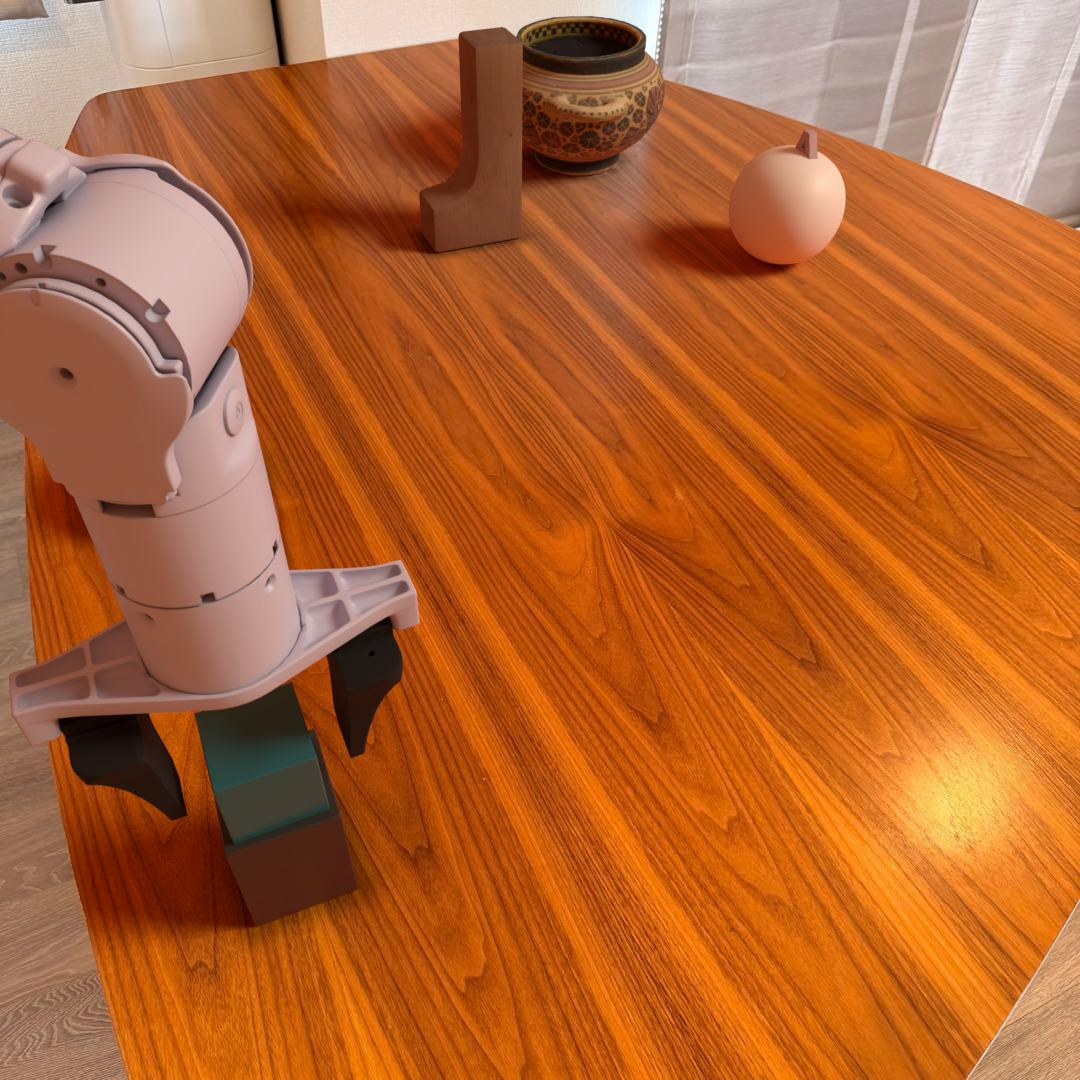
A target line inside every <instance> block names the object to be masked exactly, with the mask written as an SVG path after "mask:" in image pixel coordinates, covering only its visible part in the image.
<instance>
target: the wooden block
mask: <svg viewBox="0 0 1080 1080" xmlns="http://www.w3.org/2000/svg"><path fill="white" fill-rule="evenodd" d="M516 36H517V35H515V34H514V33H512V32H511V31H510V30H509V29H507V28H506V27H504V26H498V27H491V28H482V29H480V28H479V29H473V30H464V31H460V32H459V33H458V62H459V63H458V64H459V90H460V93H459V94H460V119H461V152H460V155H459V160H458V165H457V166H456V167H455V169H454V170H453V171H452V173H451V174H450V175H449V176H448V178H447V179H446V180H445V181H443V182H441V183H437V184H434V185H431V186H429V187H426V188H423V189H421V190H420V191H419V192H418V198H419V199H418V200H419V212H420V213H419V214H420V228H421V229H420V230H421V233H422V235H423V236H424V238H425V239H426V240H427V242H428V244H429V245H430V246H431V248H432V249H433V251H434V252H435V253H444V252H448V251H449V252H450V251H455V250H460V249H465V248H470V247H476V246H482V245H487V244H493V243H497V242H504V241H509V240H515V239H519V238H521V237H522V221H523V220H522V217H523V216H522V213H523V212H522V209H523V207H522V205H523V198H522V197H523V142H522V84H523V44H522V41H520V40H519V39H518V38H517V37H516Z"/></svg>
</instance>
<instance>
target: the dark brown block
mask: <svg viewBox="0 0 1080 1080" xmlns="http://www.w3.org/2000/svg"><path fill="white" fill-rule="evenodd" d="M308 732H309V735H310V738H311V741H312V744H313V747H314V750H315V753H316V756H317V760H318V764H319V768H320V772H321V775H322V779H323V783H324V787H325V791H326V795H327V799H328V803H329V807H330V810H328V811H325V812H323V813H320V814H317V815H315V816H312V817H309V818H306V819H304V820H301V821H298V822H295V823H293V824H290V825H287V826H284V827H282V828H279V829H276V830H273V831H271V832H268V833H265V834H263V835H260V836H257V837H254V838H252V839H249V840H246V841H243V842H241V843H238V844H234V843H233V841H232V839H231V836H230V834H229V831H228V829H227V826H226V824H225V822H224V819H223V817H222V814H221V812H220V809H219V807H218V804H217V802H216V800H215V797H214V795H213V794H212V795H213V800H214V805H215V806H214V807H215V811H216V816H217V822H218V825H219V831H220V837H221V841H222V846H223V851H224V855H225V858H226V861H227V862H228V865H229V867H230V870H231V872H232V874H233V877H234V879H235V882H236V884H237V886H238V888H239V890H240V894H241V895H242V898H243V900H244V902H245V905H246V907H247V909H248V912H249V914H250V917H251V919H252V921H253V924H254V925H255V927H259V926H262V925H265V924H267V923H270V922H273V921H276V920H278V919H281V918H284V917H287V916H289V915H291V914H295V913H297V912H300V911H303V910H305V909H309V908H311V907H313V906H316V905H319V904H322V903H325V902H328V901H330V900H332V899H335V898H338V897H342V896H344V895H346V894H350V893H352V892H355V891H357V890H359V883H358V881H357V876H356V872H355V867H354V863H353V859H352V855H351V851H350V847H349V843H348V839H347V834H346V831H345V827H344V826H345V825H344V822H343V817H342V814H341V810H340V807H339V804H338V800H337V797H336V794H335V790H334V787H333V783H332V780H331V777H330V773H329V771H328V767H327V763H326V760H325V755H324V753H323V750H322V746H321V742H320V739H319V736H318V732H317V729H316V728H314V727H313V728H310V729H308Z"/></svg>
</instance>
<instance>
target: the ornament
mask: <svg viewBox="0 0 1080 1080" xmlns="http://www.w3.org/2000/svg"><path fill="white" fill-rule="evenodd" d="M846 194H847V193H846V187H845V183H844V179H843V177H842V174H841V172H840V170H839V169H838V167H837V166H836V164H835V163H834V162H833V161H831V159H829V157H827V156H826V155H824V154H823V153H822V152H820V151H818V131H816V130H815V129H812V128H810V129H804V130H803V131H802V133H801V135H800V138H799V139H798V141H797V142H796V145H795V144H788V145H779V146H775V147H771V148H769V149H766V150H764V151H762V152H760V153H759V154H757V155H756V156H754V157H753V158H752V159H750V161H748V163H747V164H745V166H744V167H743V169H742V170H741V171H740V173H739V174H738V176H737V178H736V179H735V182H734V184H733V186H732V189H731V191H730V196H729V201H728V220H729V225H730V229H731V231H732V234H733V236H734V238H735V239H736V241H737V243H738V244H739V245H740V246H741V248H742V249H743V250H744V251H745V252H747V253H748V254H749V255H751V256H752V257H753V258H755V259H757V260H760V261H762V262H765V263H768V264H773V265H794V264H798V263H801V262H804V261H807V260H809V259H811V258H813V257H815V256H816V255H818V254H819V253H820V252H822V251H823V250H824V249H825V248H826V247H827V246H828V245H829V244H830V242H831V241H832V240H833V238H834V237H835V235H836V234H837V232H838V230H839V228H840V226H841V223H842V221H843V217H844V214H845V209H846V201H847V199H846V196H847V195H846Z"/></svg>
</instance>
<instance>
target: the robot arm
mask: <svg viewBox="0 0 1080 1080" xmlns="http://www.w3.org/2000/svg"><path fill="white" fill-rule="evenodd" d="M253 286H254V268H253V262H252V258H251V254H250V251H249V247H248V245H247V243H246V239H245V238H244V236H243V234H242V231H240V229H239V227H238V226H237V224H236V223H235V221H234V219H233V218H232V217H231V216H230V215H229V213H228V212H227V210H225V208H224V207H223V206H222V205H221V204H220V203H219V202H218V201H217V200H216V199H215V198H214V197H212V196H211V194H209V193H208V192H207V191H205V190H204V189H203V188H201V187H200V186H199V185H197V184H196V183H194V181H191V180H190V179H188V178H187V177H185V176H184V175H183V174H182V173H180V172H179V170H178V169H176V168H175V167H174V166H173V165H172V164H170V163H169V162H167V161H165V160H163V159H159V158H156V157H153V156H149V155H143V154H137V153H136V154H135V153H123V152H122V153H109V154H103V155H99V156H92V157H91V156H84V155H80V154H77V153H75V152H72V151H71V150H69V149H68V148H65V147H64V146H61V145H60V146H58V147H57V148H56V149H53V148H52V147H50V146H48V145H46V144H44V143H42V142H41V141H38V140H36V139H30V140H26V139H24V138H23V137H21V136H19V135H18V134H15V133H13V132H11V131H9V130H8V129H6V128H4V127H2V126H0V419H2V421H4V422H5V423H6V424H8V425H9V426H11V427H12V428H13V429H15V430H16V431H17V432H19V433H20V434H21V435H22V436H24V437H25V438H26V439H27V440H28V441H30V443H31V444H32V445H33V446H34V447H35V448H36V450H37V451H38V452H39V454H40V455H41V457H42V460H43V461H44V463H45V464H44V465H45V466H46V468H47V471H48V472H49V475H50V478H51V479H52V482H53V483H57V484H61V485H63V486H64V488H65V490H66V492H67V493H68V494H69V495H70V496H71V497H73V498H74V501H75V504H76V506H77V508H78V511H79V513H80V516H81V517H82V520H83V522H84V525H85V527H86V529H87V531H88V535H89V536H90V539H91V541H92V543H93V546H94V548H95V550H96V554H97V556H98V559H99V560H100V561H101V565H102V567H103V570H104V572H105V574H106V577H107V580H108V582H109V584H110V587H111V589H112V591H113V593H114V597H115V599H116V600H117V603H118V606H119V608H120V609H121V613H122V614H123V617H124V618H122V619H120V620H119V621H117V622H115V623H114V624H111V625H109V626H108V627H106V628H104V629H102V630H101V631H98V632H97V633H95V634H93V635H91V636H90V637H88V638H86V639H84V640H82V641H81V642H79V643H77V644H75V645H74V646H72V647H70V648H68V649H66V650H65V651H62V652H60V653H58V654H57V655H55V656H52V657H51V658H48V659H46V660H44V661H42V662H39V663H36V664H34V665H32V666H28V667H26V668H23V669H20V670H16V671H14V672H10V673H9V674H8V686H9V697H10V698H9V699H10V713H11V717H12V718H13V720H14V722H15V723H16V725H17V726H18V728H19V730H20V731H21V733H22V735H23V736H24V739H26V741H27V743H28V744H29V746H30V747H34V746H37V745H41V744H44V743H47V742H51V741H53V740H56V739H57V738H59V737H60V736H61V735H63V736H64V741H65V743H66V745H67V748H68V756H69V757H68V758H69V763H70V764H69V765H70V767H71V769H72V771H73V772H74V774H75V775H76V776H77V778H78V779H80V780H81V782H83V784H85V785H86V786H103V787H109V788H113V789H118V790H121V791H125V792H127V793H130V794H132V795H134V796H136V797H138V798H140V799H142V800H144V801H145V802H147V803H148V804H150V805H151V806H152V807H154V808H156V809H157V810H158V811H160V812H161V814H163V815H165V817H167V819H168V820H170V821H172V822H174V821H177V820H180V819H183V818H185V817H188V812H187V807H186V801H185V797H184V793H183V788H182V782H181V778H180V775H179V772H178V770H177V767H176V764H175V762H174V759H173V757H172V756H171V754H170V751H169V749H168V748H167V747H166V746H167V745H166V744H165V743H164V741H163V739H162V737H161V736H160V734H159V732H158V730H157V728H156V726H155V725H154V723H153V720H152V718H151V716H150V714H161V713H165V714H166V713H183V712H184V713H185V712H200V711H209V710H220V709H227V708H232V707H237V706H240V705H243V704H246V703H249V702H251V701H253V700H256V699H258V698H260V697H262V696H264V695H265V694H267V693H269V692H271V691H272V690H274V689H275V688H277V687H278V686H281V685H284V684H285V683H286V682H287V681H289V680H290V679H293V678H294V677H295V676H297V675H298V674H300V673H301V672H303V671H305V670H306V669H308V668H309V667H311V666H312V665H314V664H315V663H317V662H318V661H320V660H322V659H323V658H325V657H326V660H327V664H328V669H329V678H330V688H331V694H332V695H331V696H332V697H331V698H332V705H333V710H334V713H335V717H336V721H337V725H338V728H339V730H340V733H341V736H342V739H343V741H344V745H345V748H346V750H347V753H348V755H349V756H348V757H349V758H350V759H352V758H356V757H359V756H362V755H364V754H365V752H366V746H367V742H368V736H369V734H370V730H371V729H370V728H371V727H372V723H373V721H374V718H375V715H376V713H377V711H378V709H379V707H380V705H381V703H382V702H383V701H384V699H385V698H386V696H387V695H388V694H389V693H390V692H391V690H392V689H393V688H394V687H396V686H397V685H398V684H399V683H400V682H401V681H402V677H403V672H404V671H403V670H404V661H403V660H404V659H403V654H402V651H401V649H400V646H399V644H398V641H397V639H396V636H395V635H394V630H395V631H403V630H406V629H410V628H412V627H415V626H419V625H420V623H421V622H420V613H419V602H418V594H417V593H418V592H417V590H416V587H415V586H414V584H413V582H412V579H411V577H410V575H409V573H408V570H407V569H406V566H405V565H404V562H403V561H402V560H401V559H397V560H394V561H390V562H389V561H388V562H386V563H381V564H375V565H369V566H358V567H357V566H356V567H341V568H340V567H338V568H313V569H289V564H288V560H287V556H286V551H285V547H284V543H283V539H282V534H281V530H280V523H279V520H278V515H277V511H276V507H275V502H274V498H273V493H272V489H271V486H270V485H271V484H270V481H269V476H268V472H267V468H266V464H265V459H264V455H263V451H262V446H261V443H260V438H259V434H258V430H257V426H256V420H255V417H254V415H253V411H252V406H251V402H250V398H249V393H248V389H247V385H246V381H245V377H244V372H243V368H242V364H241V363H242V362H241V360H240V359H241V358H240V355H239V351H238V350H237V348H235V347H234V346H232V345H228V343H229V342H230V340H231V339H232V337H233V335H234V333H235V332H236V330H237V328H238V327H239V325H240V324H241V322H242V320H243V318H244V315H245V313H246V310H247V306H248V305H249V302H250V299H251V296H252V292H253Z"/></svg>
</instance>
